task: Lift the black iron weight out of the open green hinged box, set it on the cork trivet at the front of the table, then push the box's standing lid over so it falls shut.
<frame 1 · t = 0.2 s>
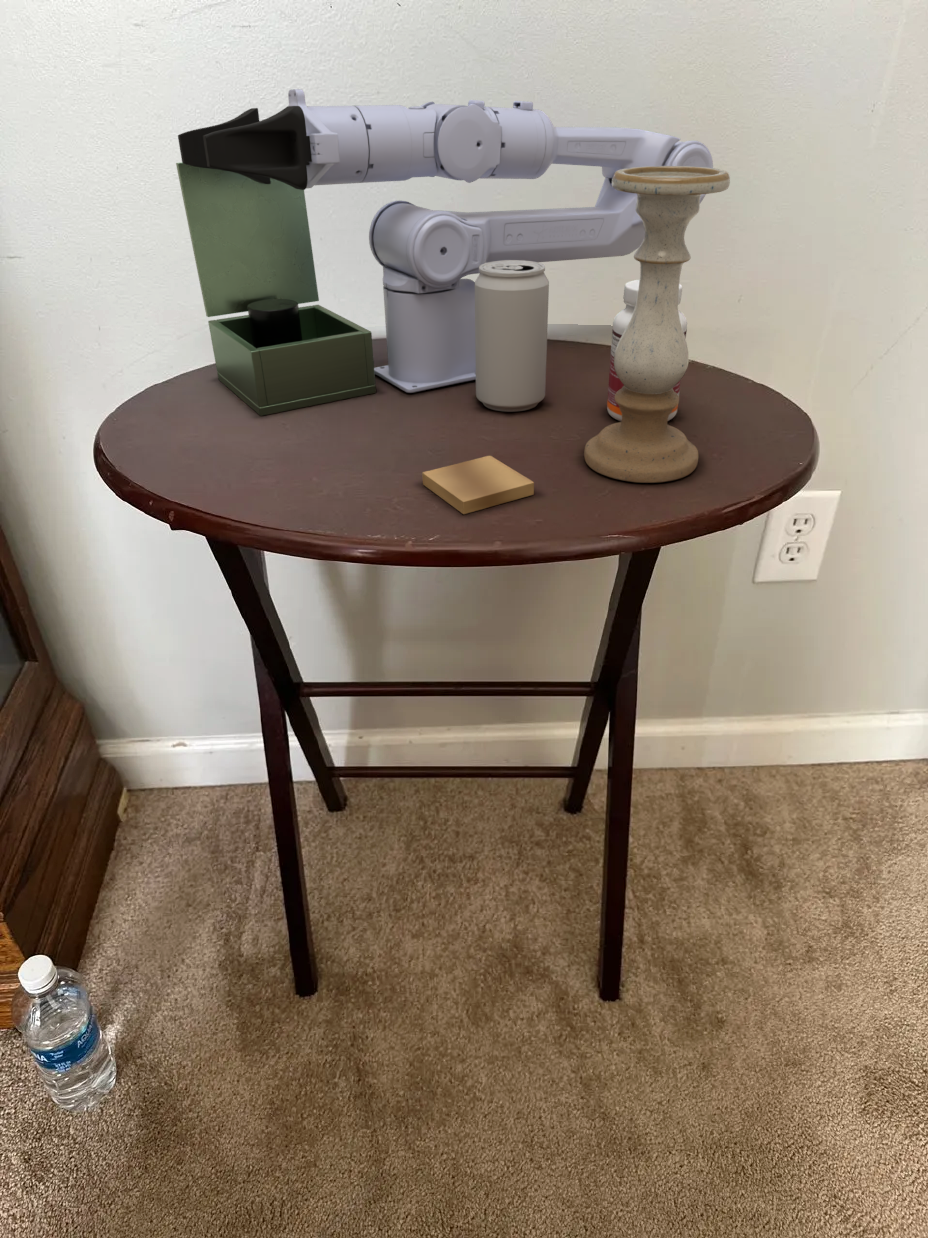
hand: (192, 150, 65), 21 cm above the table, tool horizontal, fingers open, 7 cm apart
candle holder: (639, 463, 67), on the table
pill bottle: (640, 416, 75), on the table
beverage can: (510, 404, 78), on the table
trivet: (477, 489, 63), on the table
green box lid: (252, 236, 81), point 13 cm above the table, hinge at 95.0°
iron weight: (281, 371, 85), point 1 cm above the table, touching green hinged box
green hinged box: (295, 386, 83), on the table
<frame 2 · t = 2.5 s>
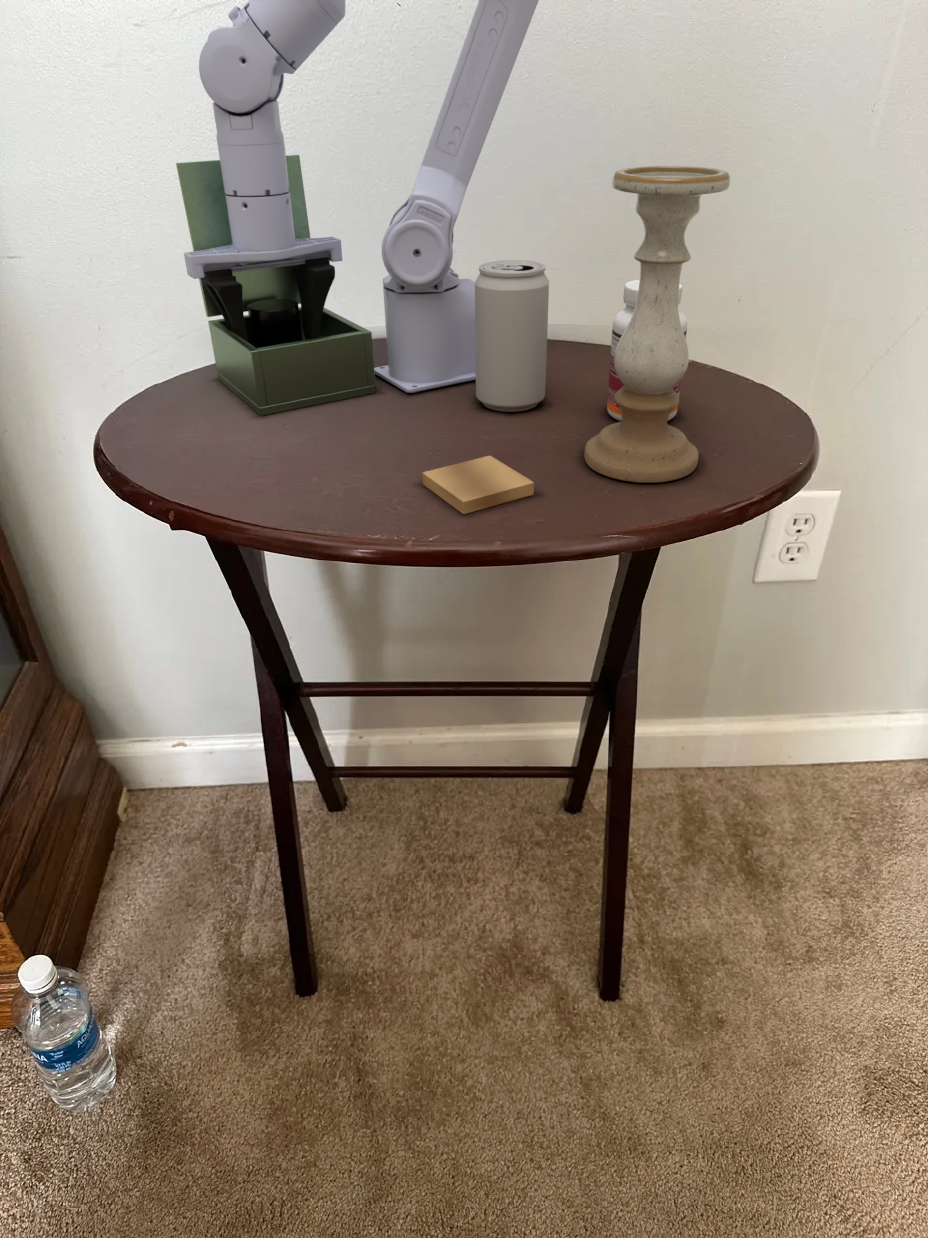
hand: (277, 346, 83), 3 cm above the table, tool pointing down, fingers open, 7 cm apart
nothing on the table moved.
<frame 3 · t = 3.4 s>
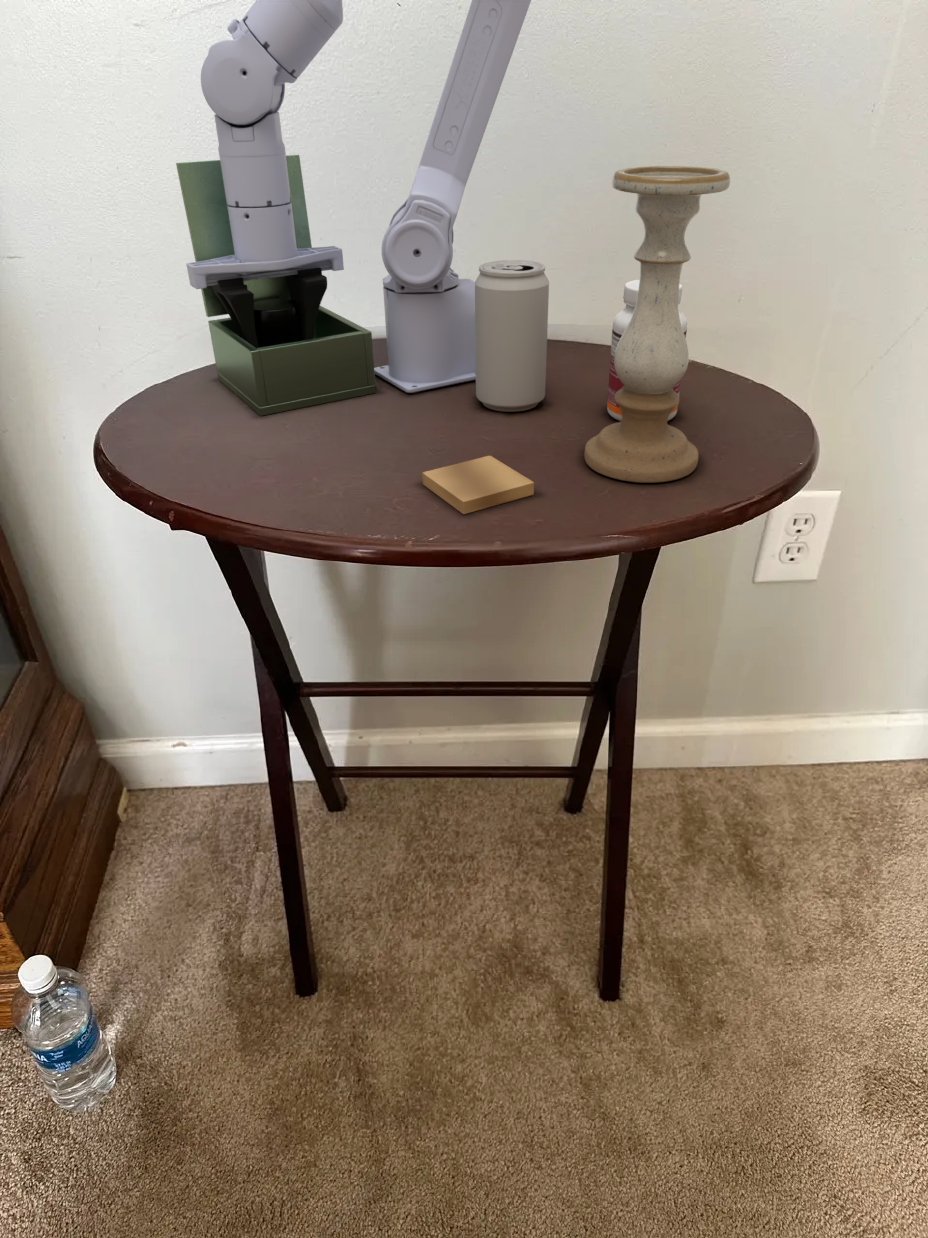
hand: (279, 355, 84), 2 cm above the table, tool pointing down, fingers closed on iron weight, 5 cm apart
iron weight: (281, 371, 85), point 1 cm above the table, touching gripper, green hinged box
everything else where it was.
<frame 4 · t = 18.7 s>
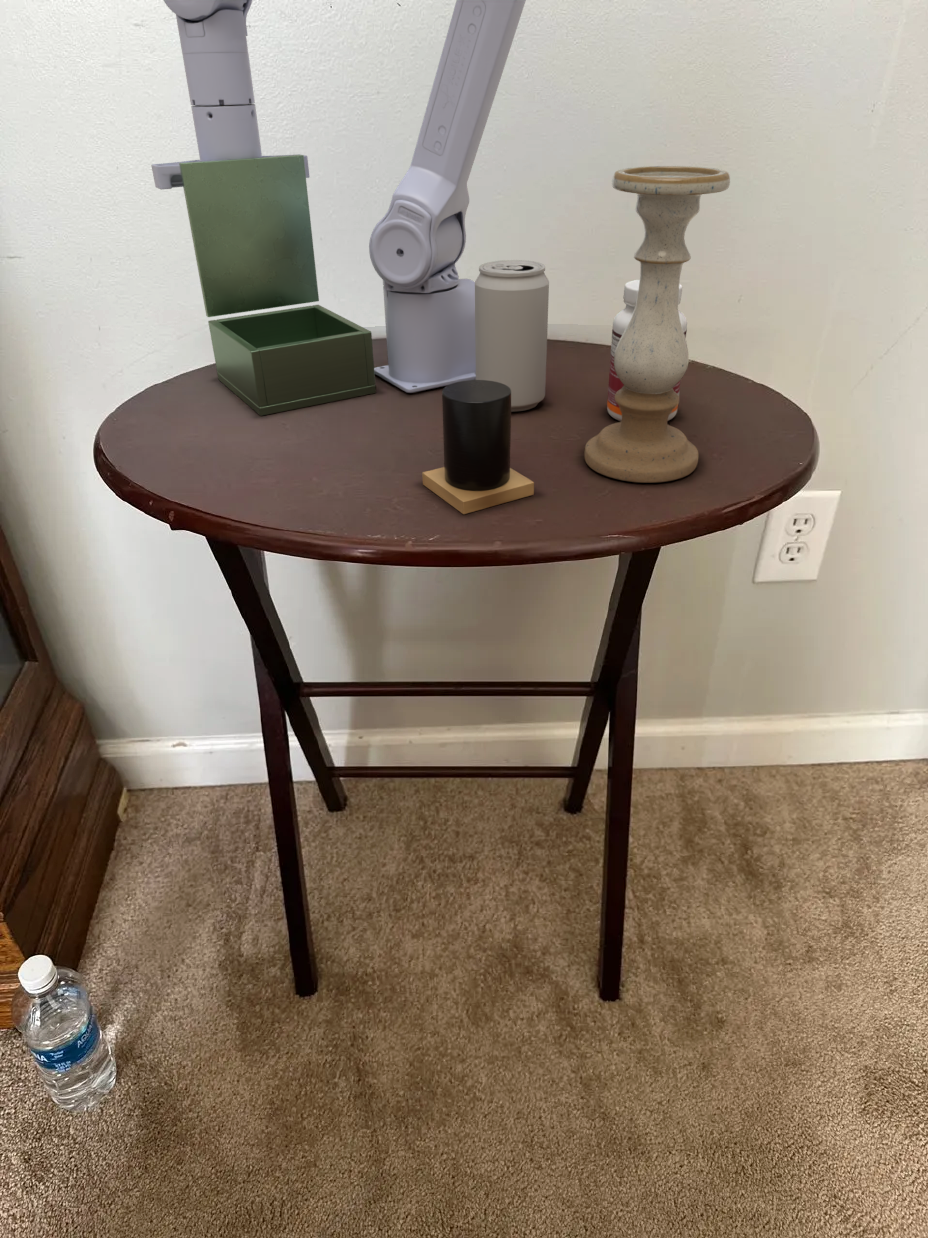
hand: (246, 263, 85), 10 cm above the table, tool pointing down, fingers closed, pressing on green box lid
green box lid: (254, 236, 81), point 13 cm above the table, hinge at 90.2°, touching gripper
iron weight: (477, 477, 62), point 1 cm above the table, touching trivet
everything else where it was.
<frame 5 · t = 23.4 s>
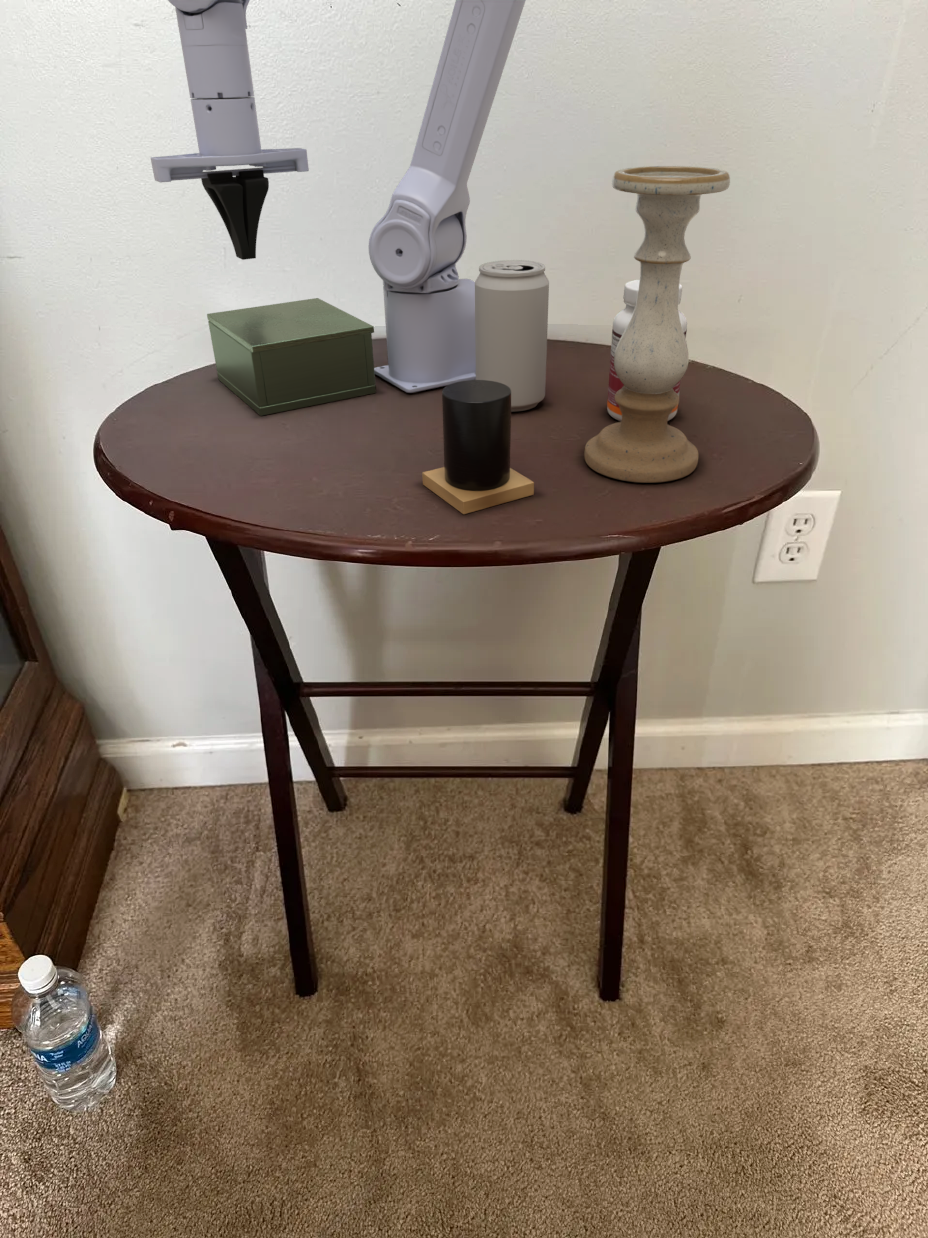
hand: (246, 257, 85), 10 cm above the table, tool pointing down, fingers closed
green box lid: (288, 322, 80), point 6 cm above the table, hinge at -0.2°
everything else where it was.
at the end: iron weight 0.0 cm off-centre on the trivet, point 1.0 cm above the trivet's base; iron weight tilted 0°; green box lid at +0° (first picture: +95°) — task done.
